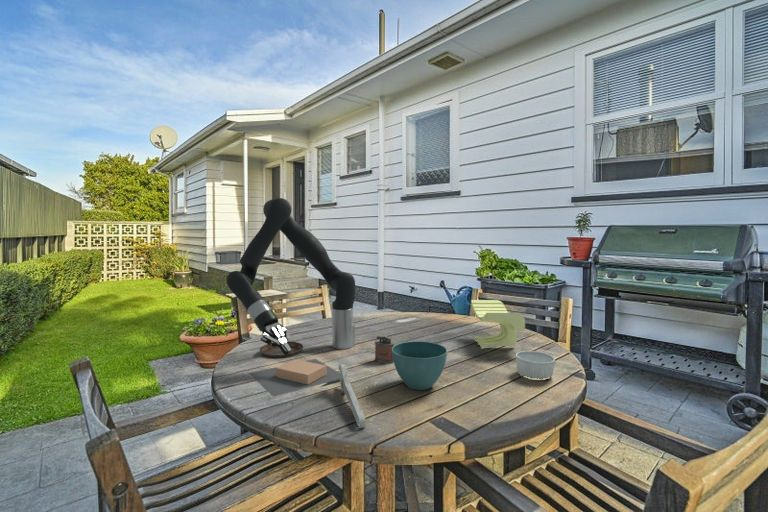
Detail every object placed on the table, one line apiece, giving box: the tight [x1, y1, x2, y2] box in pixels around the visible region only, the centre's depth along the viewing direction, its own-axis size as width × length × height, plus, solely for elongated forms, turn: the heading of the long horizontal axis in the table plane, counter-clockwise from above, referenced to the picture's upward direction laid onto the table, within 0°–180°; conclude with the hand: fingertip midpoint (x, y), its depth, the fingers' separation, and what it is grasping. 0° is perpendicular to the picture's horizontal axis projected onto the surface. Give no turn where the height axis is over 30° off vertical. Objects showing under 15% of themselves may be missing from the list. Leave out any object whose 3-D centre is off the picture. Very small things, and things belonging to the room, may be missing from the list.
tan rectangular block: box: [276, 359, 328, 384], centre depth 133 cm, size 3×10×14 cm
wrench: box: [338, 363, 367, 429], centre depth 113 cm, size 8×2×30 cm
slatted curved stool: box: [470, 299, 526, 347], centre depth 174 cm, size 30×16×18 cm, turn 179°
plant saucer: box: [259, 340, 304, 359], centre depth 161 cm, size 18×18×3 cm
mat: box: [248, 358, 341, 397], centre depth 134 cm, size 26×24×1 cm
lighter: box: [374, 335, 395, 364], centre depth 151 cm, size 8×3×10 cm, turn 65°
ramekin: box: [515, 350, 556, 379], centre depth 137 cm, size 13×13×7 cm
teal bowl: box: [392, 341, 448, 391], centre depth 128 cm, size 18×18×12 cm
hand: (288, 353), depth 135 cm, fingers closed
